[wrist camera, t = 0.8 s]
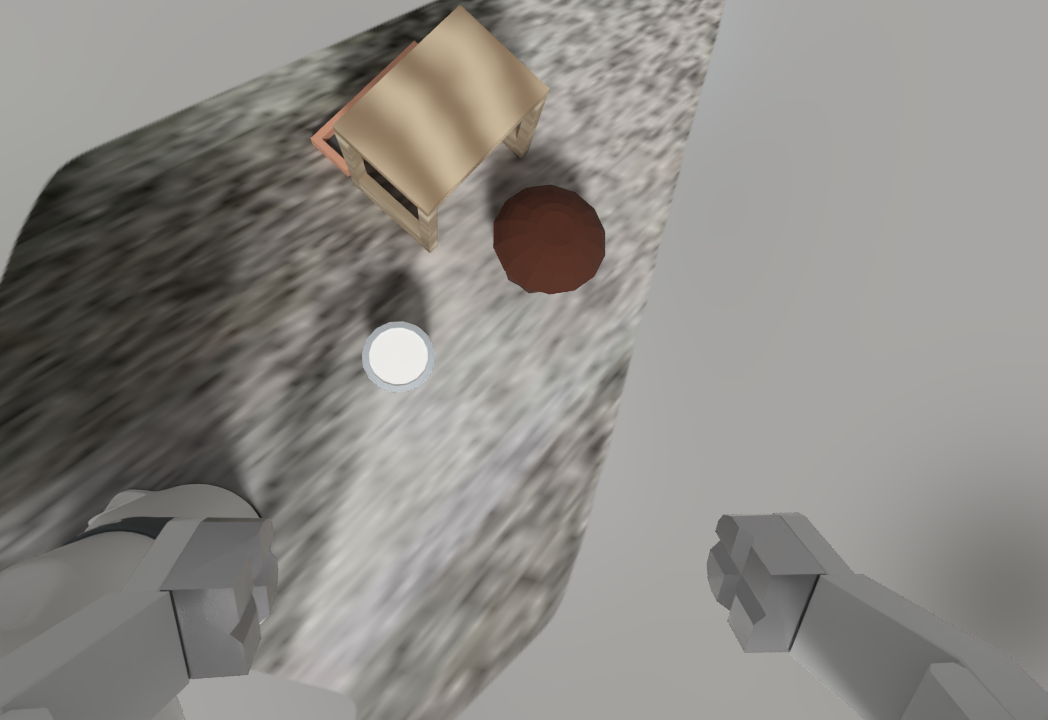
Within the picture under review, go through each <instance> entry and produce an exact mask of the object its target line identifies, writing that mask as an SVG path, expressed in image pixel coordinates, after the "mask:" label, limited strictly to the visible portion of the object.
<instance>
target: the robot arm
mask: <svg viewBox="0 0 1048 720" xmlns="http://www.w3.org/2000/svg"><path fill="white" fill-rule="evenodd" d="M88 525H89V527H88V528H87V529H86V530H85V532H83V533H82V534H79V535H78V536H76V537H75V538H73V539H71V540H70V541H68V542H66V543H65V544H64V545H62V546H61V547H60V548H57V549H54V550H52V551H49V552H46V553H44V554H41V555H38V556H36V557H33V558H30V559H27V560H25V561H22V562H20V563H17V564H15V565H13V566H11V567H9V568H7V569H5V570H4V571H2V572H0V720H185V717H184V714H183V710H182V707H181V705H180V703H179V700H178V698H177V696H176V695H177V694H178V693H179V692H180V691H181V690H182V689H183V688H184V687H185V686H186V685H187V684H188V683H189V679H199V678H212V677H226V676H240V675H248V673H249V671H250V668H251V665H252V662H253V660H254V657H255V654H256V651H257V649H258V646H259V643H260V640H261V632H260V625H259V624H261V623H262V622H263V621H264V620H265V619H266V618H267V617H268V616H269V615H270V612H271V609H272V606H273V603H274V600H275V595H276V589H277V583H278V564H277V557H276V556H275V555H274V554H273V553H272V552H271V551H269V549H270V547H271V544H272V542H273V539H274V532H273V526H272V521H271V520H269V519H268V518H259V516H258V515H257V513H256V512H255V511H254V509H253V508H252V507H251V506H250V505H249V504H248V503H247V502H246V501H245V500H243V499H242V498H241V497H239V496H238V495H236V494H234V493H232V492H230V491H228V490H226V489H223V488H220V487H217V486H212V485H206V484H188V485H181V486H177V487H173V488H169V489H166V490H161V491H146V490H135V489H132V490H125V491H123V492H120V493H118V494H117V495H115V496H114V497H113V499H112V500H111V501H110V503H109V504H108V506H107V507H106V509H105V510H104V512H103V513H100V514H98V515H96V516H94V517H93V518H92V519H90V520H89V522H88ZM715 532H716V533H717V535H718V537H719V539H720V541H719V542H718V543H717V544H716V545H715V546H714V547H713V548H712V549H710V553H709V557H708V561H707V574H708V581H709V584H710V588H711V591H712V592H713V594H714V596H715V598H716V600H717V602H719V603H720V604H721V605H723V606H724V607H726V608H727V609H728V610H730V613H729V617H728V623H729V625H730V627H731V629H732V631H733V632H734V634H735V636H736V638H737V640H738V642H739V644H740V645H741V647H742V649H743V651H744V652H745V653H753V652H755V653H756V652H757V653H758V652H790V653H789V654H790V656H792V657H793V658H794V659H795V660H796V661H797V662H798V663H800V664H801V665H802V666H803V667H804V668H805V669H806V670H808V671H809V672H810V673H811V674H812V675H813V676H814V677H816V678H817V679H818V680H819V681H820V682H821V683H823V684H824V685H825V686H826V687H827V688H829V690H830V691H832V692H833V693H834V694H835V695H836V696H837V697H839V698H840V699H841V700H842V701H843V702H844V703H845V704H847V705H848V706H849V707H850V708H851V709H852V710H853V711H855V712H856V713H857V714H858V715H859V716H860V717H861V718H863V719H864V720H1048V693H1047V692H1046V691H1045V690H1044V689H1043V688H1042V687H1041V686H1040V685H1039V684H1038V683H1037V682H1036V681H1035V680H1034V679H1033V678H1032V677H1031V676H1030V675H1029V674H1028V673H1027V672H1026V671H1025V670H1024V669H1023V668H1022V667H1021V666H1020V665H1019V664H1018V663H1017V662H1016V661H1015V660H1014V659H1013V658H1012V657H1010V656H1008V655H1006V654H1005V653H1003V652H1001V651H999V650H997V649H996V648H994V647H992V646H990V645H988V644H987V643H985V642H983V641H981V640H979V639H978V638H976V637H974V636H972V635H971V634H969V633H967V632H965V631H963V630H962V629H960V628H958V627H956V626H955V625H953V624H951V623H949V622H947V621H945V620H944V619H942V618H940V617H939V616H937V615H935V614H933V613H931V612H929V611H928V610H926V609H924V608H922V607H921V606H919V605H917V604H915V603H913V602H912V601H910V600H908V599H906V598H905V597H903V596H901V595H899V594H898V593H896V592H894V591H892V590H890V589H888V588H887V587H885V586H883V585H881V584H880V583H878V582H876V581H874V580H873V579H871V578H869V577H867V576H865V575H864V574H854V572H853V571H852V570H851V569H850V568H849V566H848V565H847V564H846V563H845V562H844V561H843V559H842V558H841V557H840V556H839V555H838V554H837V553H836V551H835V550H834V549H833V548H832V547H831V545H830V544H829V543H828V542H827V541H826V540H825V538H824V537H823V536H822V535H821V534H820V533H819V531H818V530H817V529H816V528H815V527H814V526H813V525H812V523H811V522H810V521H809V520H808V519H807V518H806V517H805V516H804V515H802V514H800V513H798V512H796V513H795V512H794V513H773V514H730V515H729V514H728V515H723V516H722V517H721V518H720V520H719V521H718V524H717V528H716V531H715Z"/></svg>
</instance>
